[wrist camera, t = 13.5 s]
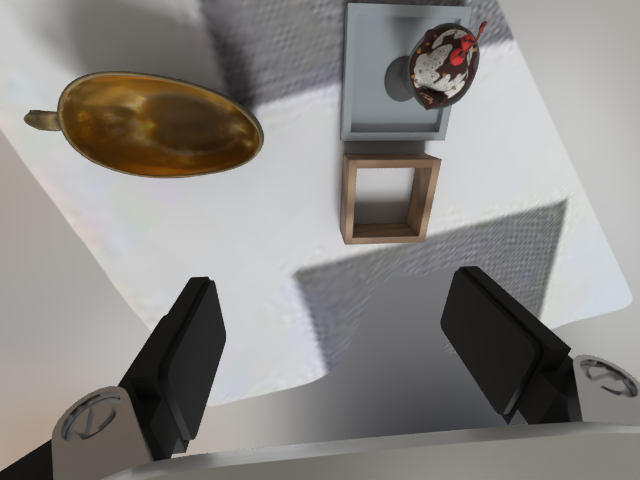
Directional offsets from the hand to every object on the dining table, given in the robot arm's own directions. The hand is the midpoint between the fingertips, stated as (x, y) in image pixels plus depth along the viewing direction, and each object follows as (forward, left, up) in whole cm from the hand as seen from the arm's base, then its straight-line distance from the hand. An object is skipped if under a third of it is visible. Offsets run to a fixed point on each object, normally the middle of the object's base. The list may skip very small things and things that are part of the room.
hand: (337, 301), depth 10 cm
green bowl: (-5, -16, -31) cm, 35 cm away
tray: (-10, +12, -30) cm, 34 cm away
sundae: (-10, +12, -30) cm, 34 cm away
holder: (+5, +11, -30) cm, 33 cm away
